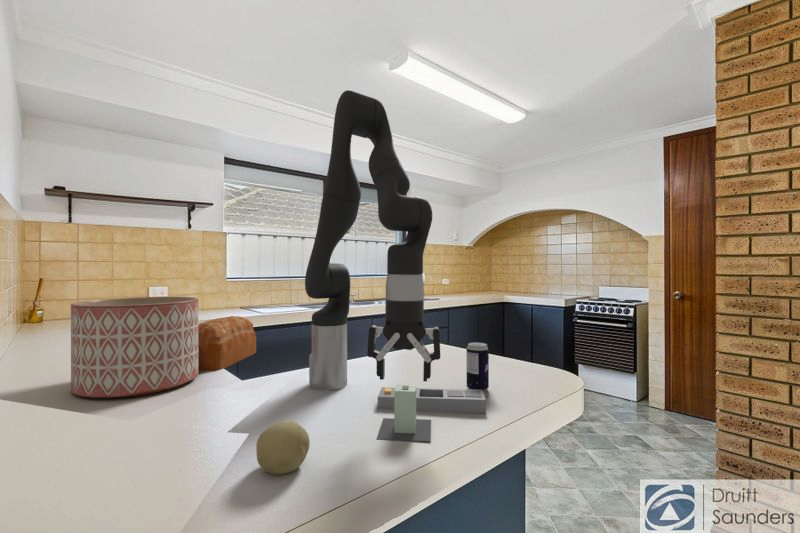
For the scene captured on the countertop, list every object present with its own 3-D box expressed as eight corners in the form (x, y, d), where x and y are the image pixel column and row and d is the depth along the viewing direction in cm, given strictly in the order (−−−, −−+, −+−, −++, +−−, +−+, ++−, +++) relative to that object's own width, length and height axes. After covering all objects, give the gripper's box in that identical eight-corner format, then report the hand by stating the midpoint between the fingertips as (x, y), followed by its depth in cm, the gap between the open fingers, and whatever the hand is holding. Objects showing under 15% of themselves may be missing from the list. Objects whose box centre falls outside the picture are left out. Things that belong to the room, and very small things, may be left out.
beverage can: (488, 394, 99) (488, 346, 99) (466, 392, 100) (466, 345, 100) (488, 387, 104) (488, 342, 104) (466, 385, 105) (466, 341, 105)
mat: (376, 441, 72) (376, 439, 72) (383, 420, 82) (383, 418, 82) (430, 443, 71) (430, 441, 71) (431, 421, 81) (431, 419, 81)
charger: (394, 432, 75) (394, 390, 75) (396, 424, 79) (396, 384, 79) (415, 433, 74) (415, 390, 74) (416, 424, 78) (416, 384, 78)
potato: (304, 484, 58) (304, 431, 58) (250, 487, 57) (250, 432, 57) (312, 459, 65) (312, 412, 65) (264, 461, 65) (263, 413, 65)
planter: (41, 404, 92) (41, 304, 92) (145, 373, 118) (145, 295, 119) (131, 415, 85) (131, 307, 85) (220, 380, 111) (220, 297, 111)
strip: (377, 410, 88) (377, 394, 88) (381, 399, 95) (381, 384, 95) (485, 413, 86) (485, 397, 86) (482, 402, 93) (482, 387, 93)
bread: (259, 357, 140) (259, 313, 140) (218, 378, 114) (218, 324, 114) (223, 356, 141) (222, 313, 141) (174, 376, 115) (174, 323, 115)
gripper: (365, 298, 73) (364, 384, 74) (441, 300, 72) (440, 387, 72) (371, 295, 81) (371, 372, 81) (440, 296, 80) (439, 375, 80)
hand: (403, 379), depth 77 cm, fingers open, 8 cm apart
